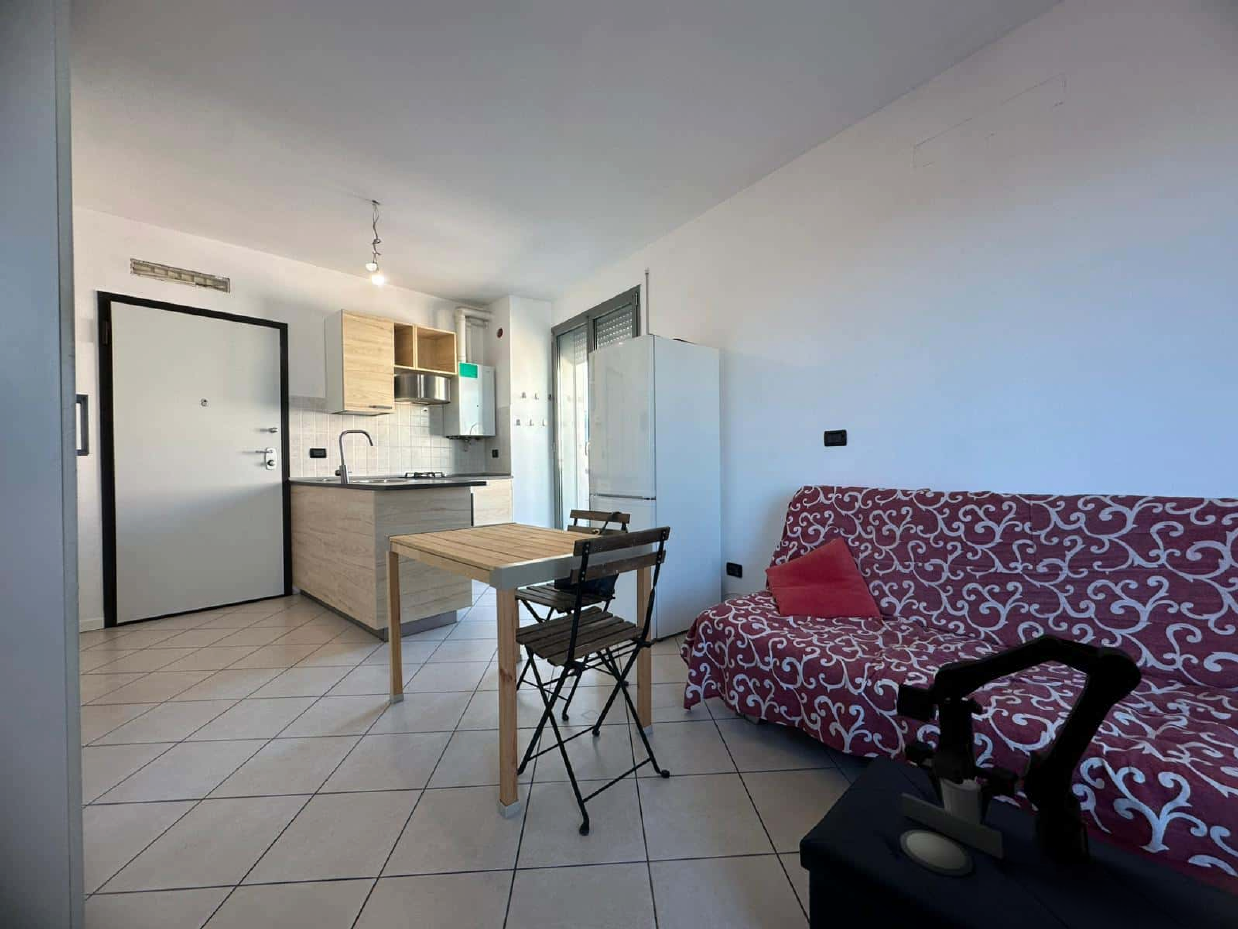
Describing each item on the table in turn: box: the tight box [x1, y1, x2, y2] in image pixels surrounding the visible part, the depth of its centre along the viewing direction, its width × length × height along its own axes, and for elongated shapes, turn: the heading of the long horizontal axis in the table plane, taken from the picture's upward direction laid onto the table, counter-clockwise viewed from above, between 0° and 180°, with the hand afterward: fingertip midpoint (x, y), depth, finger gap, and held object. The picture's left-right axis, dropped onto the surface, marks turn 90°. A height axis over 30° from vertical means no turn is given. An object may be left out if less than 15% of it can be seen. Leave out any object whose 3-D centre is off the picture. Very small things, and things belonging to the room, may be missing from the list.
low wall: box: [901, 792, 1004, 860], centre depth 91 cm, size 16×1×4 cm, turn 40°
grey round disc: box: [899, 829, 974, 877], centre depth 86 cm, size 11×11×1 cm
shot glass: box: [940, 778, 982, 824], centre depth 96 cm, size 7×7×7 cm
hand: (962, 810), depth 96 cm, fingers open, 7 cm apart
